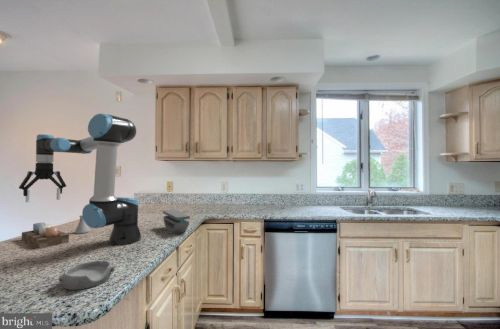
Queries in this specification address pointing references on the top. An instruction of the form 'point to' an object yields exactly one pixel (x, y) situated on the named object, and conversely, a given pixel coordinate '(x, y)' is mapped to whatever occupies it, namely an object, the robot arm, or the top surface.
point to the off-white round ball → (43, 229)
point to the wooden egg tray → (44, 239)
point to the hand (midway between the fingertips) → (43, 200)
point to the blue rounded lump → (37, 227)
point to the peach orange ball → (51, 232)
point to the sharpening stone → (175, 221)
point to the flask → (82, 226)
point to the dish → (86, 275)
